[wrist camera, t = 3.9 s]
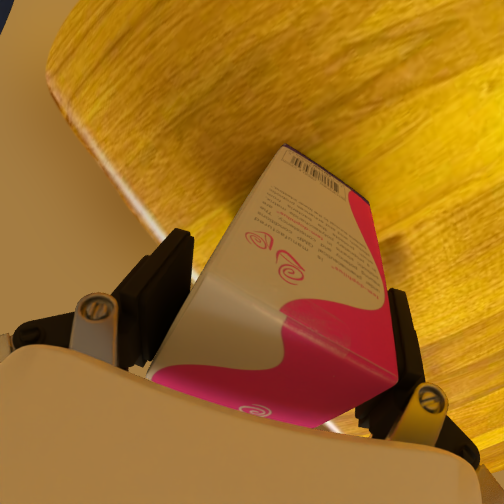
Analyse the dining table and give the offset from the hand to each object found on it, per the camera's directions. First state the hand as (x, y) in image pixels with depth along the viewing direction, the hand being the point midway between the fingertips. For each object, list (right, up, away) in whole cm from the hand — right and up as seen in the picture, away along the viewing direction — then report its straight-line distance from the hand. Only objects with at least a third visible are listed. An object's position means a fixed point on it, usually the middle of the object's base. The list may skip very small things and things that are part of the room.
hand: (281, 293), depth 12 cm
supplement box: (+2, +4, +6) cm, 7 cm away
